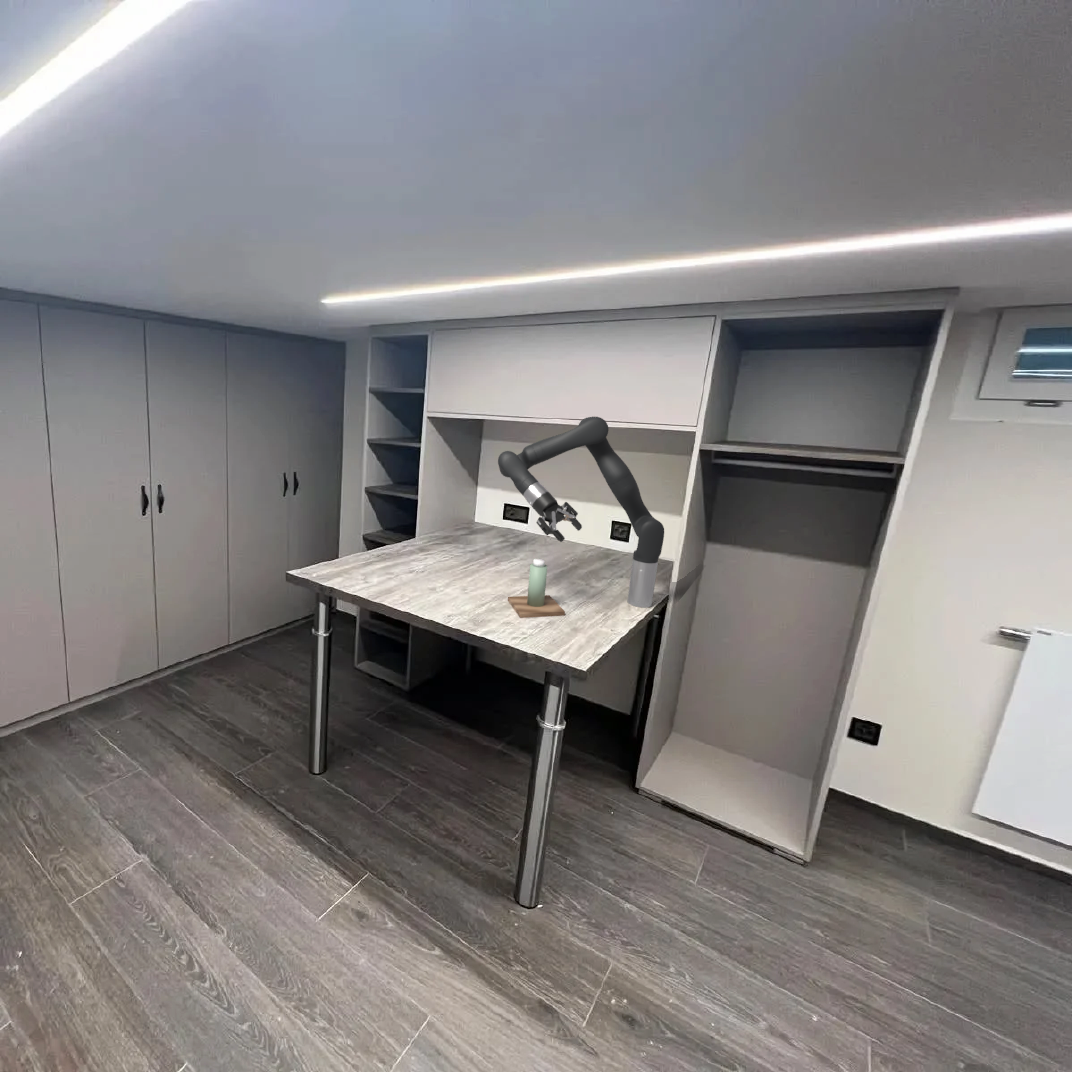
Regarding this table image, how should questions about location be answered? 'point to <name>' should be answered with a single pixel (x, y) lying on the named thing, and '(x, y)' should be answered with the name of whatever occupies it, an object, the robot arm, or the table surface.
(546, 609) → the brown wooden flat square
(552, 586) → the table surface
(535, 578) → the bottle
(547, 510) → the robot arm
